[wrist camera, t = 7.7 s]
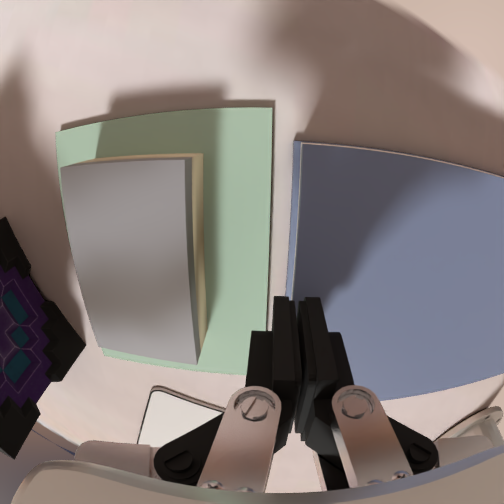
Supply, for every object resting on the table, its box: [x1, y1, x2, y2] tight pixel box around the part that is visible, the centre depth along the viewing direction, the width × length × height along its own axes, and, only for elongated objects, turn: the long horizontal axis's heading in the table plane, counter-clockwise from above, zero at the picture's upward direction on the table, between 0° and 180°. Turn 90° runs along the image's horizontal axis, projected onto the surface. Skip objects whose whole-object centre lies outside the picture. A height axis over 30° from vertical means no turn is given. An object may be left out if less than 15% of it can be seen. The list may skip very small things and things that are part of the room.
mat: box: [56, 107, 272, 375], centre depth 15 cm, size 16×12×1 cm
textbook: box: [285, 141, 504, 401], centre depth 13 cm, size 13×18×4 cm
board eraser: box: [60, 153, 208, 365], centre depth 13 cm, size 10×6×3 cm, turn 178°
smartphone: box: [137, 387, 225, 447], centre depth 23 cm, size 7×1×15 cm
